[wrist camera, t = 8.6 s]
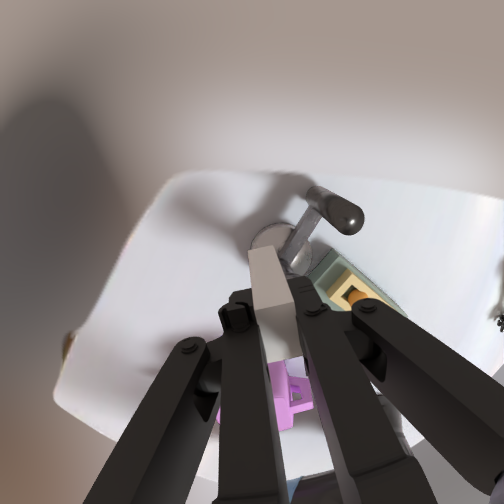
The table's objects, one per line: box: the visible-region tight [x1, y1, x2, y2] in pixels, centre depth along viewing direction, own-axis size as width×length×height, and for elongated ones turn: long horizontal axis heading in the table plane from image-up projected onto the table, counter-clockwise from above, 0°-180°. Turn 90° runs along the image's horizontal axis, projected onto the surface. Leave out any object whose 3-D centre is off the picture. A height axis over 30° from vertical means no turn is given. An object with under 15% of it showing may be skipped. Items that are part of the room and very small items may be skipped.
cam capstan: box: [251, 186, 364, 280], centre depth 28 cm, size 13×7×11 cm, turn 150°
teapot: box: [216, 360, 313, 431], centre depth 37 cm, size 18×10×10 cm, turn 103°
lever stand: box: [307, 249, 408, 318], centre depth 36 cm, size 16×11×5 cm
